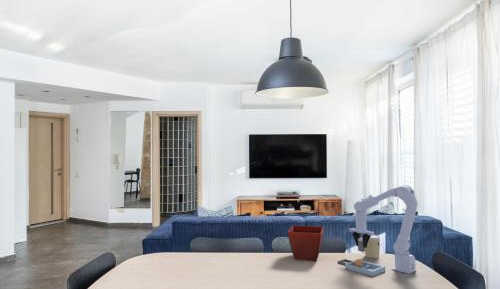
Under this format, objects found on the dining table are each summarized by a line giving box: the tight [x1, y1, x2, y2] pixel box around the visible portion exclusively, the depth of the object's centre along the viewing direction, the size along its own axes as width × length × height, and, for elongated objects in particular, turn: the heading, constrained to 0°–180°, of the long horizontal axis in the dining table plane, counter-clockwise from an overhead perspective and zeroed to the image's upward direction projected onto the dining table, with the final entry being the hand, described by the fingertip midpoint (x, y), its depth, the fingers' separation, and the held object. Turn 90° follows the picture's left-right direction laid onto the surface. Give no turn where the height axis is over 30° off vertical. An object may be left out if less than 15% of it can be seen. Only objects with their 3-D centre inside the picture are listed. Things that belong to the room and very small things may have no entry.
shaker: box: [357, 237, 365, 252], centre depth 196 cm, size 4×4×6 cm
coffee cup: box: [364, 234, 381, 259], centre depth 208 cm, size 9×9×12 cm
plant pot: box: [287, 225, 324, 262], centre depth 207 cm, size 19×19×17 cm
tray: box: [344, 260, 386, 277], centre depth 183 cm, size 16×12×2 cm
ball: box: [353, 258, 363, 268], centre depth 186 cm, size 4×4×4 cm
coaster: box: [337, 258, 354, 266], centre depth 195 cm, size 7×7×1 cm
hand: (361, 246), depth 196 cm, fingers closed on shaker, 4 cm apart
